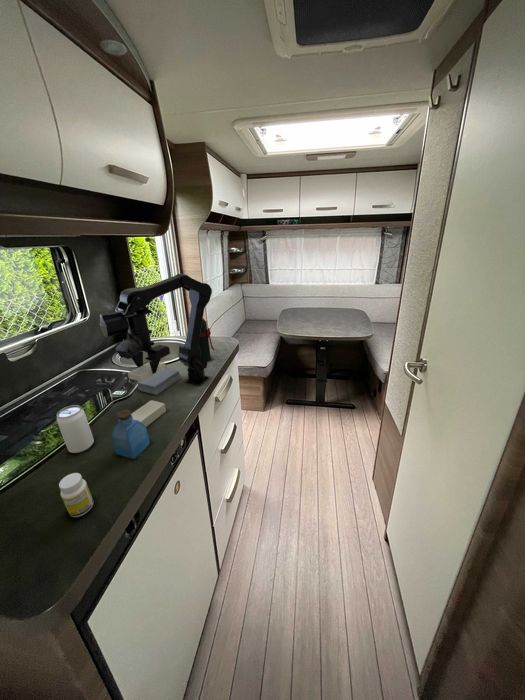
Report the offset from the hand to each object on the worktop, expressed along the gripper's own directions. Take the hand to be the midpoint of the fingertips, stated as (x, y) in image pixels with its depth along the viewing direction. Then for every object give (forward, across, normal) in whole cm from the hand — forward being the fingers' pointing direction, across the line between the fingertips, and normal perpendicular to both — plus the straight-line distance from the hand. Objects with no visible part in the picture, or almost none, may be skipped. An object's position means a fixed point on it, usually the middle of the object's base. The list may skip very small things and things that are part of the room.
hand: (147, 371), depth 96 cm
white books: (+12, +6, -9) cm, 16 cm away
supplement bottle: (+12, +18, -38) cm, 44 cm away
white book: (0, 0, 0) cm, 0 cm away
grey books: (+12, -6, +10) cm, 17 cm away
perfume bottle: (+12, +14, -21) cm, 27 cm away
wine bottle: (+12, -4, +36) cm, 38 cm away
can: (+12, -1, -26) cm, 29 cm away
